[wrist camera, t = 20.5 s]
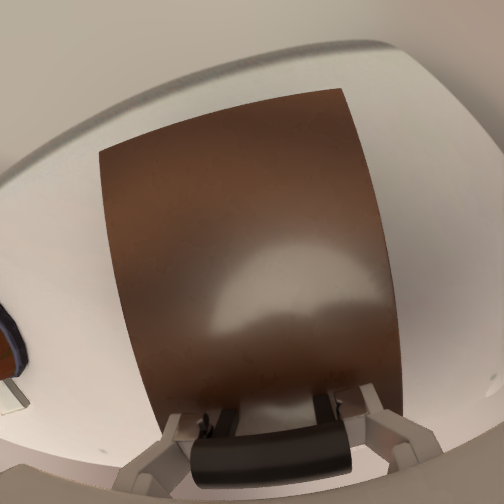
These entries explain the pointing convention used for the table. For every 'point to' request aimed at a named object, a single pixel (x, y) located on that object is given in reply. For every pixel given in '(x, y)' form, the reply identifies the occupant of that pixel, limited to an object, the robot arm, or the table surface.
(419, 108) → the table surface
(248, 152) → the lid
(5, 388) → the hard drive
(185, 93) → the table surface
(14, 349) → the mug
